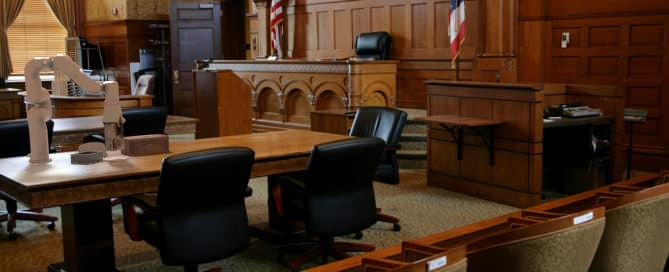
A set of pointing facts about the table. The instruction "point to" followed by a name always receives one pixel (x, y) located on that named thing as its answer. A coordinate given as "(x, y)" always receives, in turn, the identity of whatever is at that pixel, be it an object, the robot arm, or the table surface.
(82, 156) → the metal bracket
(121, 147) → the coffee box
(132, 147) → the tissue box cover
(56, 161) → the table surface
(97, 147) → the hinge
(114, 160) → the felt pad
